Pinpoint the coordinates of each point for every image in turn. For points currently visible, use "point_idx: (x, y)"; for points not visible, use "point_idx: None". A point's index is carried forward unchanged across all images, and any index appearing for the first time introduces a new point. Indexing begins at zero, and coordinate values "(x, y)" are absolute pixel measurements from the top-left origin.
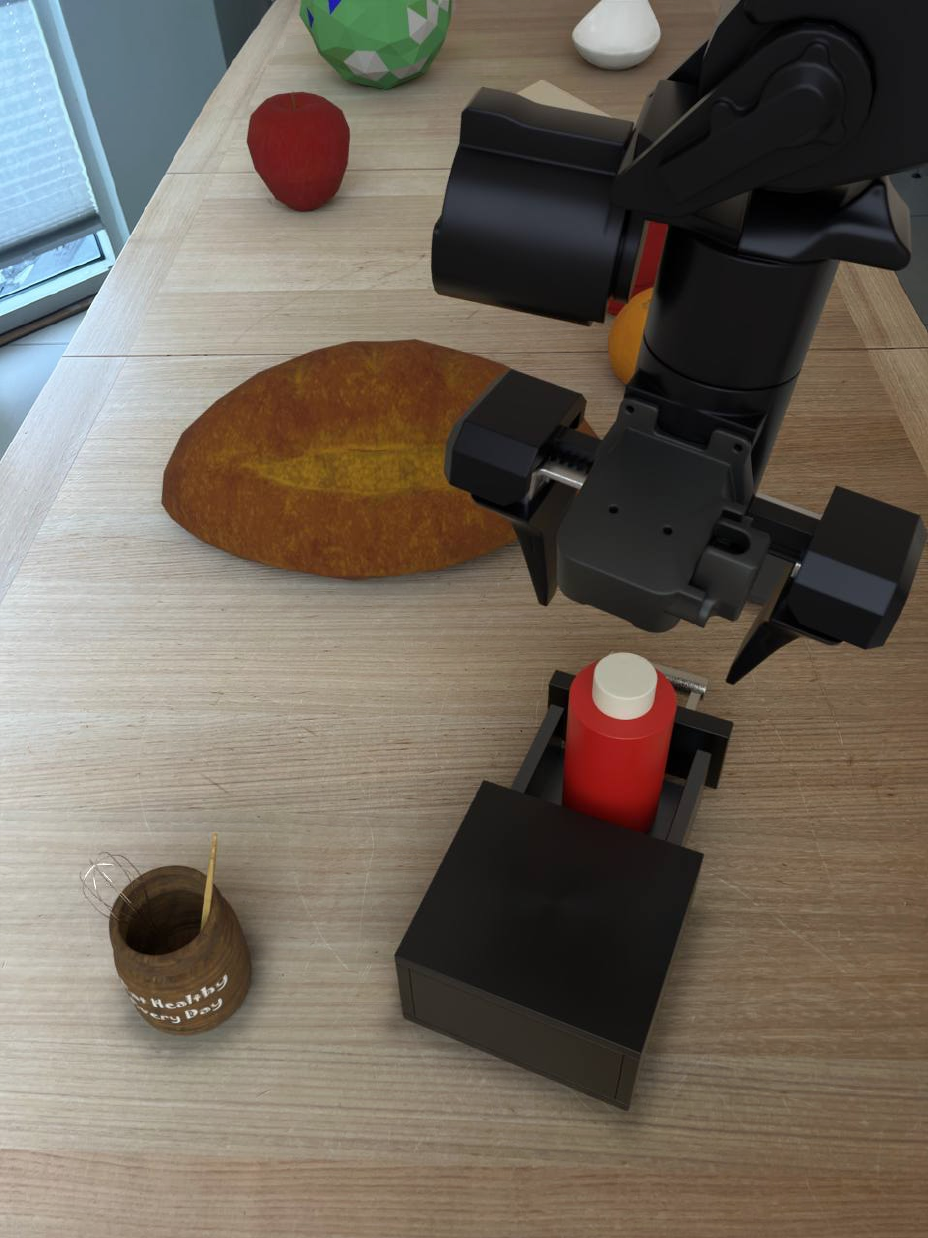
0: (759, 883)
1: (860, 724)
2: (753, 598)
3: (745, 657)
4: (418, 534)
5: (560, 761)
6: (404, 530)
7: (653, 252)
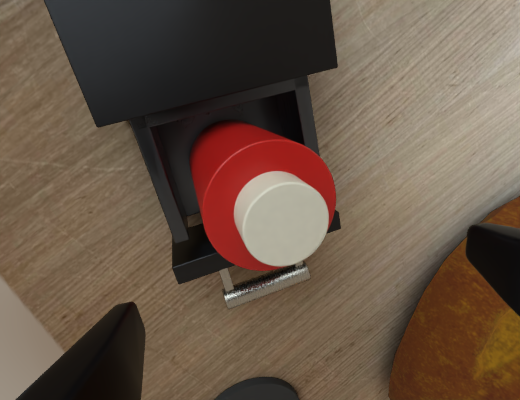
0: (95, 185)
1: None
2: (247, 383)
3: (67, 381)
4: None
5: None
6: None
7: None
